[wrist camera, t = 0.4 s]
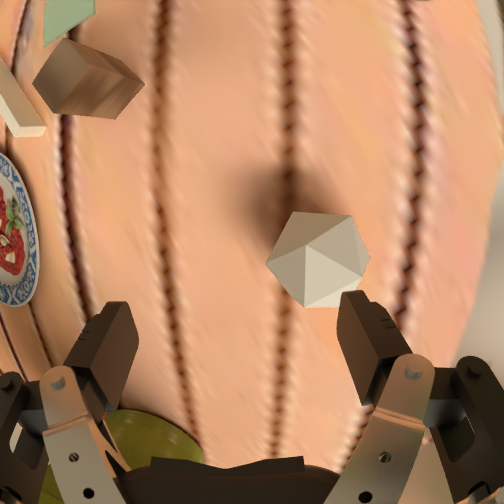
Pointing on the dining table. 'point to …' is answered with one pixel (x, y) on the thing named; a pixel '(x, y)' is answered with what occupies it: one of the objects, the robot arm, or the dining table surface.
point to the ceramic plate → (16, 239)
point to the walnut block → (85, 82)
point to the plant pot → (135, 445)
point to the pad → (65, 16)
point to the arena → (17, 107)
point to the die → (319, 258)
